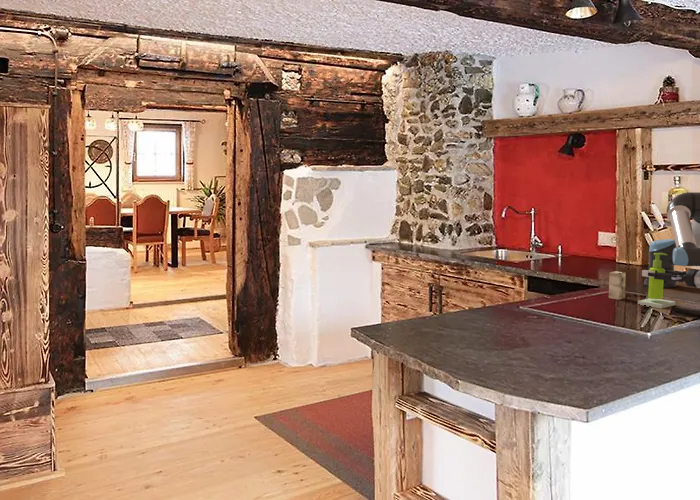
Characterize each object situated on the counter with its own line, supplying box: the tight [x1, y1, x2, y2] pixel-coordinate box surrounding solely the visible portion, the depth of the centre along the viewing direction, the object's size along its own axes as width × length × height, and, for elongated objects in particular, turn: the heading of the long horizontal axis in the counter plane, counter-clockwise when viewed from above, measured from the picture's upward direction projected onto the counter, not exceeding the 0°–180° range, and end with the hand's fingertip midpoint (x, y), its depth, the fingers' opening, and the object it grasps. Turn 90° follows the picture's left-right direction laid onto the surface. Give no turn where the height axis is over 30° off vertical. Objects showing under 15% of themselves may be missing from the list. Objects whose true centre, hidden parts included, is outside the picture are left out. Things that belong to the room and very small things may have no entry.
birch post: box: [608, 270, 627, 301], centre depth 308 cm, size 5×5×12 cm
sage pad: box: [637, 297, 676, 309], centre depth 293 cm, size 11×11×2 cm
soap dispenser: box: [647, 253, 668, 300], centre depth 292 cm, size 6×7×20 cm
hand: (646, 272), depth 296 cm, fingers closed on soap dispenser, 6 cm apart
